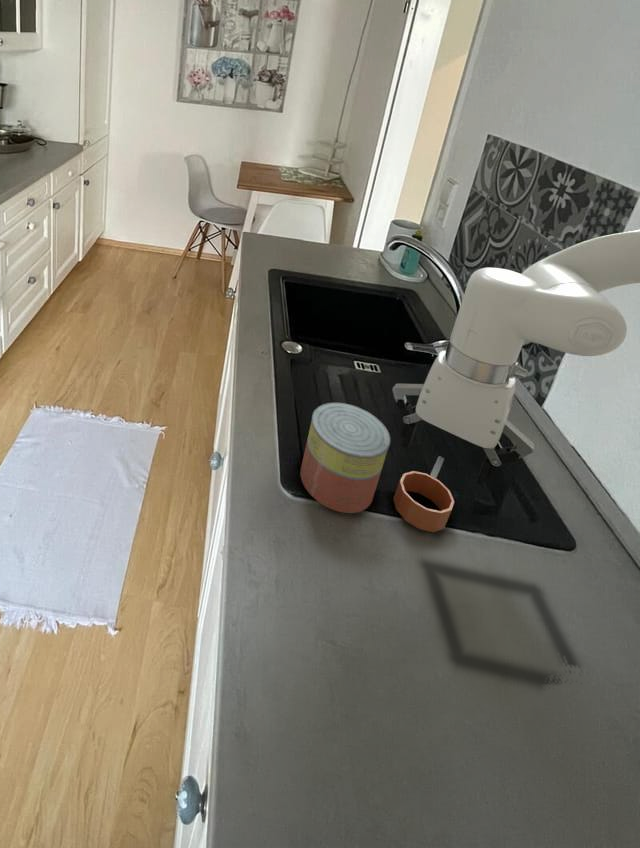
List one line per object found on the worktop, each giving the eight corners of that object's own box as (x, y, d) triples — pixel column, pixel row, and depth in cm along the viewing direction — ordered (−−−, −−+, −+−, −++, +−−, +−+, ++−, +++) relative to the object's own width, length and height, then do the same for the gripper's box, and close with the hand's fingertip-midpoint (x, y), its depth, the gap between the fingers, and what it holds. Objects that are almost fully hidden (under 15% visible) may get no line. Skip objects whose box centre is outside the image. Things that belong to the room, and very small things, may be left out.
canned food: (375, 476, 82) (392, 418, 78) (369, 530, 73) (388, 468, 68) (305, 450, 87) (318, 393, 82) (291, 498, 77) (305, 437, 73)
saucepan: (437, 546, 72) (447, 522, 70) (385, 515, 76) (394, 491, 74) (457, 491, 81) (467, 468, 79) (410, 465, 85) (418, 443, 83)
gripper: (561, 377, 63) (517, 478, 69) (416, 324, 73) (389, 417, 80) (556, 406, 58) (509, 513, 64) (400, 345, 68) (373, 442, 74)
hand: (442, 459), depth 72 cm, fingers open, 9 cm apart
